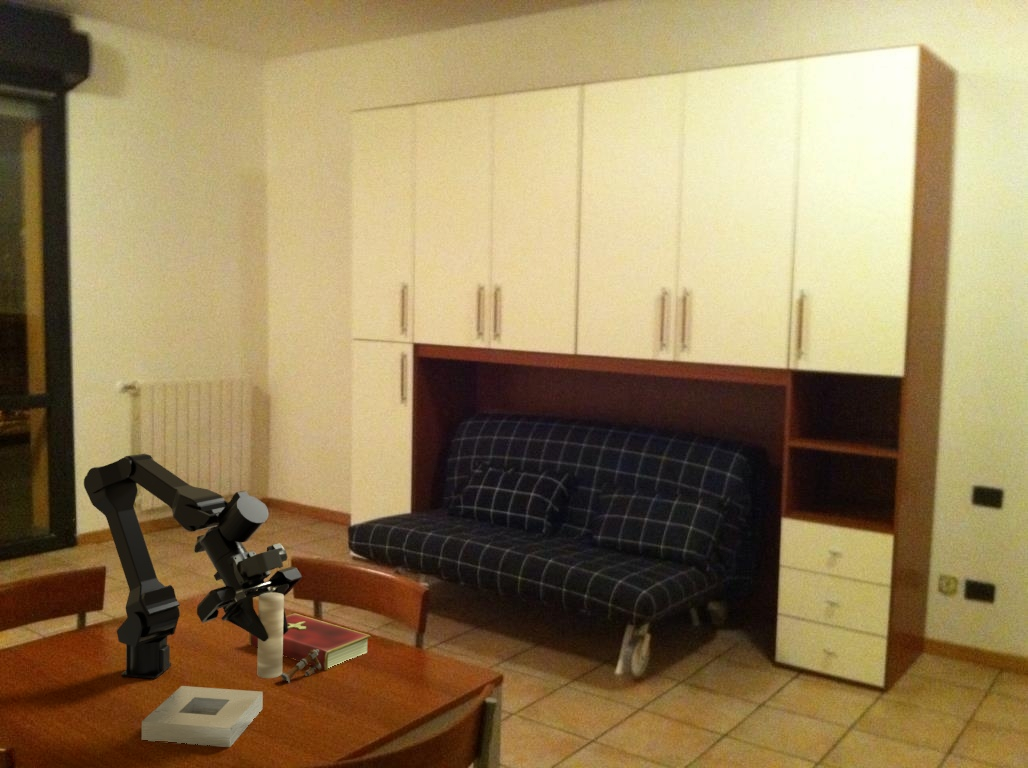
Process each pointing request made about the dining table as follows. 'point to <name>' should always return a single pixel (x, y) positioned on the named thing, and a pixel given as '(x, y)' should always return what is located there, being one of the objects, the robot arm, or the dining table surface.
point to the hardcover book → (320, 641)
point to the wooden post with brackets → (301, 664)
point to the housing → (203, 716)
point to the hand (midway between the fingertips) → (276, 636)
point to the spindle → (271, 635)
